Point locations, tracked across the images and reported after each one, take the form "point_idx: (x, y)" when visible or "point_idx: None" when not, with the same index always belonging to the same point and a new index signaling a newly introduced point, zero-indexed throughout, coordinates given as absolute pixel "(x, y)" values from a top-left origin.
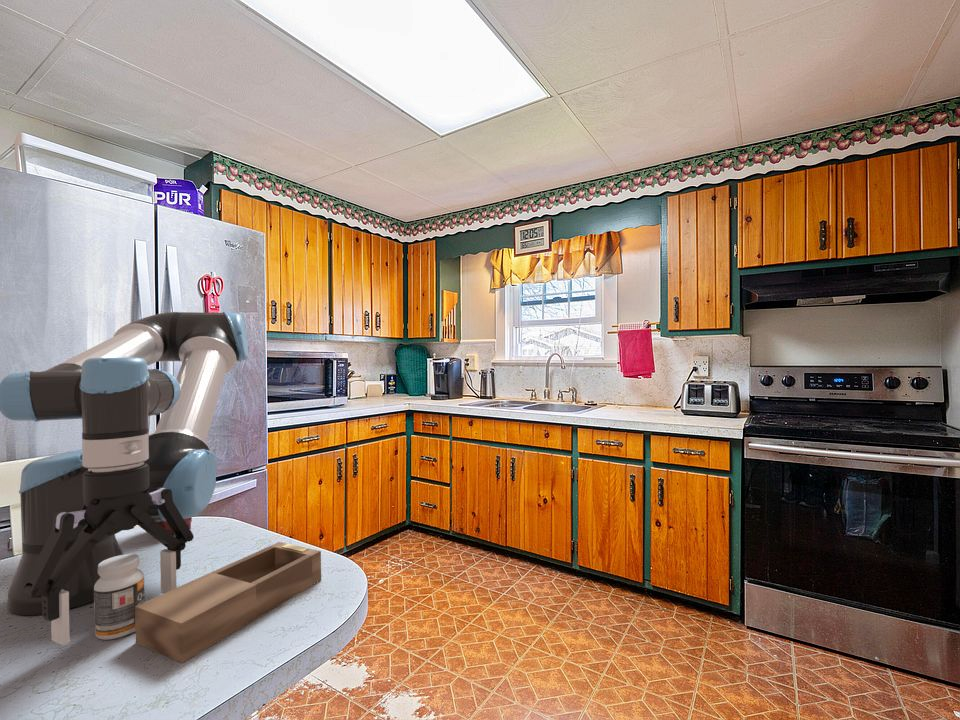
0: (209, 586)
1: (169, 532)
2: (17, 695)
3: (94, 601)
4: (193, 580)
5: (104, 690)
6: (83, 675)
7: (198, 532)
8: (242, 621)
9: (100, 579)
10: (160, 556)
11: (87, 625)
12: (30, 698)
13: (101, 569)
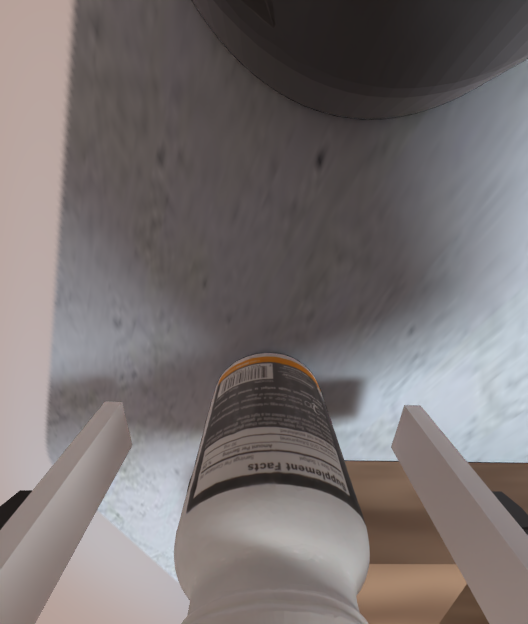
0: (392, 605)
1: None
2: (58, 436)
3: (193, 471)
4: (416, 565)
5: (155, 519)
6: (149, 470)
7: None
8: None
9: (192, 588)
10: (524, 572)
11: (241, 293)
12: None
13: None
